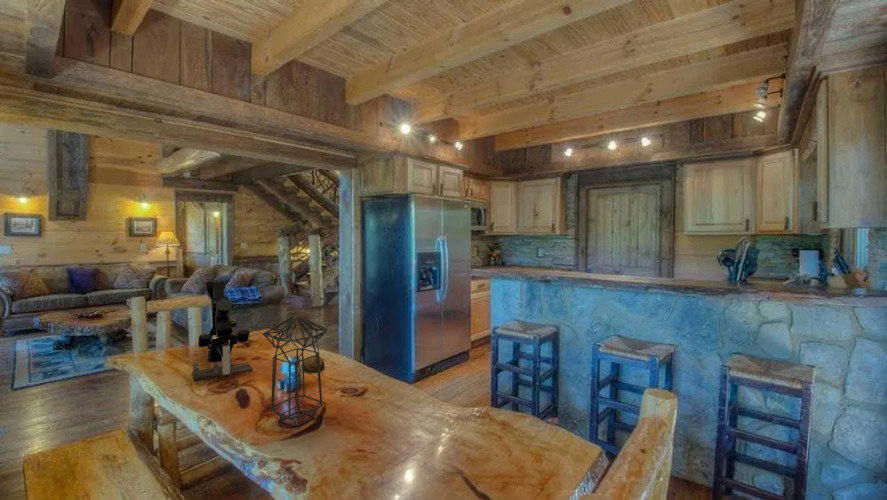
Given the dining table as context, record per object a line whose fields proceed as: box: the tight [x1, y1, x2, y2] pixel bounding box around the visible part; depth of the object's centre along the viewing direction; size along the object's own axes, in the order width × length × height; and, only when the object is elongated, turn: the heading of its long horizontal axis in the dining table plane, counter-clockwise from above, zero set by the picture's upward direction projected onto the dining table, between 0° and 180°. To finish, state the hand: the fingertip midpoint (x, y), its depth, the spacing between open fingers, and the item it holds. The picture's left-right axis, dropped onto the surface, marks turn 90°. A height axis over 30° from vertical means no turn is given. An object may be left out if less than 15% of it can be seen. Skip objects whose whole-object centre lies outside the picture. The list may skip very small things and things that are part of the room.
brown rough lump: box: [301, 355, 325, 374], centre depth 177 cm, size 10×10×8 cm
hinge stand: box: [192, 361, 253, 382], centre depth 172 cm, size 11×22×5 cm, turn 126°
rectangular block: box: [221, 345, 233, 375], centre depth 163 cm, size 5×3×11 cm, turn 36°
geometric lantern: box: [261, 314, 329, 428], centre depth 127 cm, size 16×16×35 cm
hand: (226, 355), depth 162 cm, fingers closed on rectangular block, 2 cm apart
